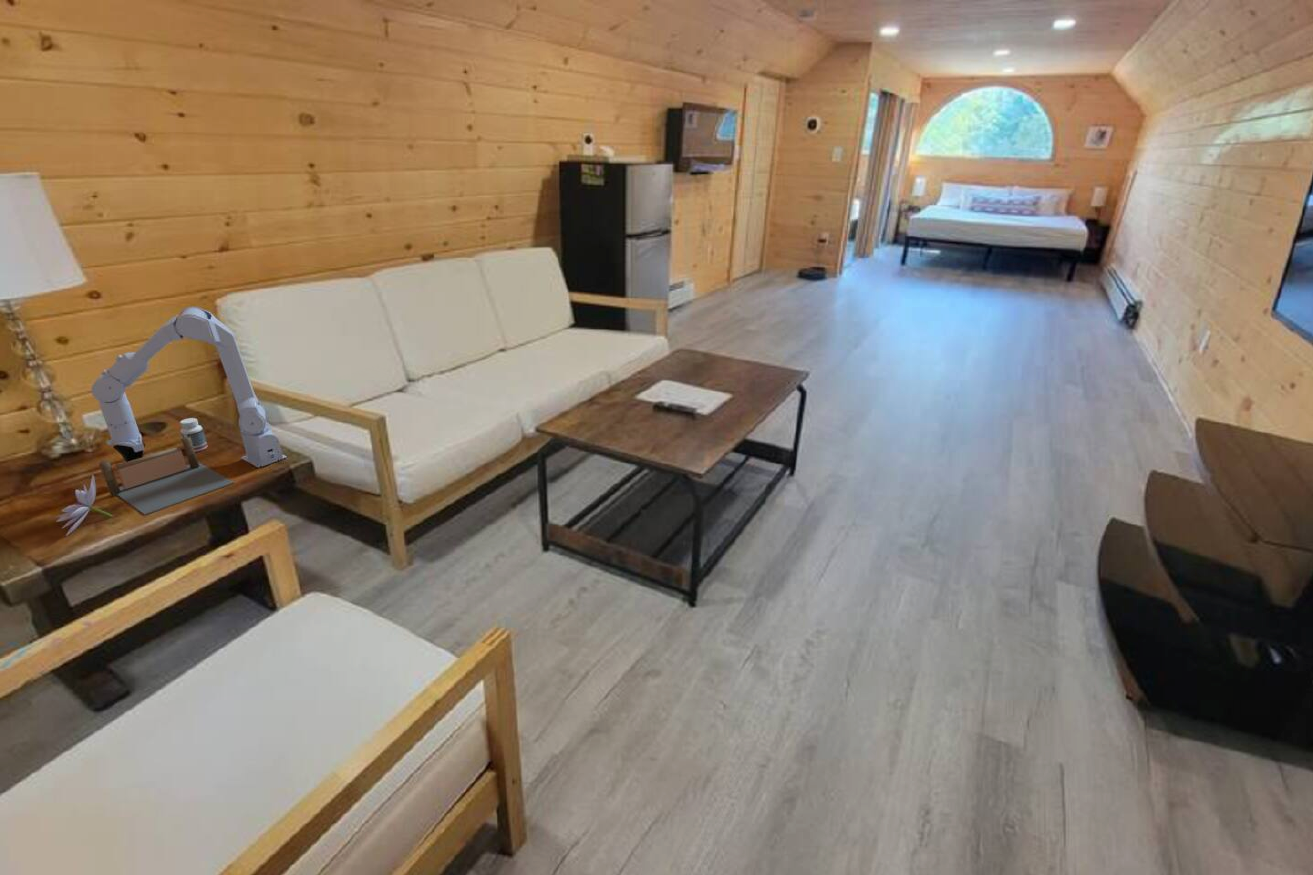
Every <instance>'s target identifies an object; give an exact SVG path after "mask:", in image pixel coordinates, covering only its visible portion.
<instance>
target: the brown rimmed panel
mask: <svg viewBox="0 0 1313 875" xmlns="http://www.w3.org/2000/svg"><path fill="white" fill-rule="evenodd" d="M184 457H185V456H184V455H183V450H182V448H181V446H176V447H172V448H169V449H166V450H163V451H159V452H156V453H152V454H149V455H146V456H143V457H142V458H139V459H135V460H132V461H129V462H126V461H125V462H123V463H119V464H116V465H115V467H116V470H117V473H118V476H119V480H120V482H121V485H122V486H123V488H125V489H128V488H131V487H134V486H137V485H140V484H143V483H146V482H149V481H152V480H155V479H158V478H161V477H164V476H167V475H170V474H173V473H176V472H180V471H183V470H186V469H187V466H186V465H187V464H186V461H185V458H184Z"/></svg>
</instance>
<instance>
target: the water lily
mask: <svg viewBox="0 0 1313 875" xmlns="http://www.w3.org/2000/svg"><path fill="white" fill-rule="evenodd" d="M74 493H75V497H76V499H77V501H76V502H77V503H74V504H72V505H68V506H66V507H64V508H62V509H61V512H62V514H60V515H57V516H56V518H58V519H57V520H56V521H55V522H56V523H58V522H63V521H66V520H69V521H68V522H67V523H66V524H64V525H63V526H62V529H64V528H66V527H67V526H70V525H72V524H73V525H72V526H71V527H70V529H68V531H67V533H66V535H65V537H68V535H70V534H71V533H73V532H74V531H75V530H76V529H77V527H78V526H79V525H80V524H81V523H82V522H83V521H84V519H85V518H86V517H87V515H88V514H89V511H90V510H93V511H95V512H98V513H100V514H102V515H104V516H106V517H107V518H108V517H109V518H112V517H113V516H114V515H113V514H111V513H109V512H106V511H105V510H101V509H99V508H97V507H94V506H93V504H94V502H95V499H96V495H97V484H96V481H95V476H94V474H92V476H91V481H90V486H89V489H87V487H86V485H85V484H83V490H82V489H81V490H80V489H75V492H74Z"/></svg>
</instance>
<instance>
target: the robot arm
mask: <svg viewBox="0 0 1313 875" xmlns="http://www.w3.org/2000/svg"><path fill="white" fill-rule="evenodd" d="M184 338H186V339H190V340H196V341H202V342H205V343H208V344H211V345H212V346H215V347H216V350H217V353H218V356H219V358H220V361H221V365H222V366H223V370H224V372H225V375H226V379H227V381H228V383H229V386H230V389H231V392H232V395H233V397H234V399H235V403H236V406H237V412H238V414H239V419H238V426H239V428H240V434H241V438H242V442H243V445H244V450H245V453H246V455H243V456H242V457H241V460H243V461H245V462H247V463H248V464H250V465H253V467H256V468H261V467H260V466H262V467H266V466H268V465H271V464H273V463H275V462H279V461H281V460H280V459H282V460H284V458H285V459H287V458H286V457H287V455H285V454H283V451H282V447H281V443H280V439H279V438H278V437H277V436H276V435H275V434H274V433H273V431H272V427H271V424H270V423H269V422H267V420H266V416H267V410H266V408H265V406H264V405H262V404H261V402H260V400H259V399H258V397H257V395H256V394H255V391H254V388H253V385H252V382H251V380H250V377H249V374H248V371H247V368H246V365H245V362H244V359H243V356H242V354H241V350H240V348H239V345H238V341H237V339H236V336H235V334H234V332H233V331H232V330H231V329H230V328H229V327H227V326H226V325H225V324H224V323H222V322H221V321H220V320H219V319H217V317H215V316H214V314H213V313H212V312H210V311H208V310H206V309H203V308H200V307H197V306H188V307H185V308H183V309H182V311H181V312H179V317H178V314H176V315H174V316H173V317H171V318H170V319H169V320H167V321H166V322H165V323H163V324H162V325H161V326H160V327H159V328H158V329H157V331H155V332H154V333H153V335H151V336H150V337H149V338H148V339H147V341H145V342H144V343H143V345H141V347H140V348H138V350H137V351H136V352H126V353H124V354H119V355H117V356H116V357H115V363H113V364H112V365H111V366H110V367H109V368H108V369H107V370H106V369H103V370H102V371H101V373H100V374H101V375H100V376H98V378H96V380H95V381H94V383H93V384H92V386H91V394H92V396H93V397H94V398H95V399H96V400H98V403H99V406H100V410H101V413H102V416H103V418H104V422H105V424H106V426H107V429H108V433H109V435H110V439H108V440H106V441H105V442H106V445H109V446H113V447H112V448H113V449H114V450H116V451H117V452H118V453H119V454H120V456H122V458H123V459H124V461H125V462H129V461H132V460H135V459H139V458H142V457H144V451H145V447H146V444H145V442H143V441H142V440H143V439H142V438H143V437H142V434H141V433H140V430H139V427H138V424H137V422H136V419H135V416H134V413H133V409H132V406H131V404H130V401H129V400H128V397H127V396H128V395H127V394H126V392H125V390H127V388H129V387H131V386H132V385H133V384H134V383H135V382H136V381H137V380H139V378H141V376H142V375H144V374H145V373H146V372H147V371H148V370H149V369H150V366H149V361H150V360H152V358H153V357H154V356H156V355H157V354H158V353H159V352H160V351H161V350H162V349H163V348H165V347H166V346H167V345H168V344H169V343H171V342H174V341H175V342H176V341H182V340H183V339H184ZM278 460H279V461H278Z"/></svg>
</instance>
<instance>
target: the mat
mask: <svg viewBox="0 0 1313 875" xmlns="http://www.w3.org/2000/svg"><path fill="white" fill-rule="evenodd" d="M198 464H199V468H196V469H191V468H190V465H189V464H186V466H187V469H186V470H183V471H180V472H176V473H173V474H170V475H167V476H164V477H161V478H158V479H155V480H152V481H149V482H146V483H143V484H140V485H137V486H134V487H131V488H128V489H125V488H123V485H122V486H119V489H120V491H121V493H120V494H117V495H118V497H119V498H121V499H122V500H123V501H124V502H126V503H127V504H129V505H130V506H132V507H133V508H134V509H136V511H138V512H140V513H141V514H143V515H144V516H147V515H150V514H153V513H156V512H159V511H161V510H165V509H167V508H169V507H172V506H175V505H177V504H181V503H184V502H186V501H189V500H191V499H195V498H198V497H200V496H203V495H207V494H208V493H211V492H214V491H217V490H219V489H223V488H224V487H227V486H230V485H233V484H235V483H234V481H233V480H230V479H229V478H227V477H226V476H224V475H222V474H220V473H218V472H216V471H215V470H213V469H211V468H210V467H208V466H206V465H204V464H202V463H201V462H199V461H198Z"/></svg>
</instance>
